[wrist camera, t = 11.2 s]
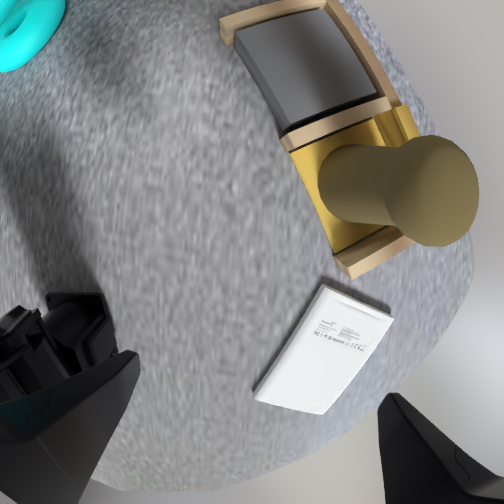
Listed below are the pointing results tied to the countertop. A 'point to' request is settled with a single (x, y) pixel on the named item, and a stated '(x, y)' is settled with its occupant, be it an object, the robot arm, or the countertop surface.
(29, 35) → the donuts
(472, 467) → the robot arm
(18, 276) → the countertop surface
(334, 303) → the external hard drive
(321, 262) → the countertop surface
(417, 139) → the olive brown pawn
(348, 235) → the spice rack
